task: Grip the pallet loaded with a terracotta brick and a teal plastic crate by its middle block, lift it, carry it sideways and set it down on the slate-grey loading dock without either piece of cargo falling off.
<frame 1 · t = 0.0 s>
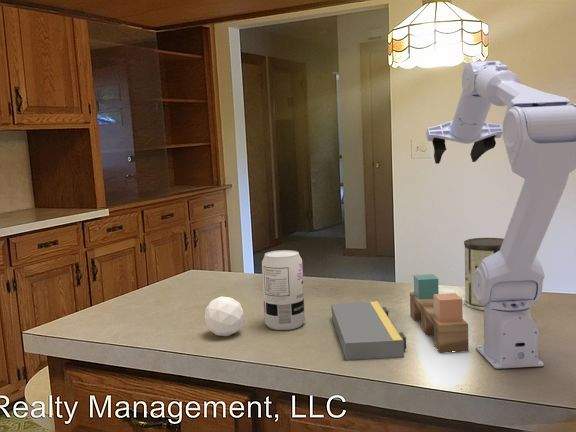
hand: (454, 159, 123), 32 cm above the countertop, tool tilted 50°, fingers open, 7 cm apart
ball: (225, 335, 117), on the countertop
supplement can: (285, 325, 122), on the countertop
dock: (364, 335, 113), on the countertop
teal crate: (426, 296, 120), point 5 cm above the countertop, touching pallet
coffee can: (488, 305, 130), on the countertop
terracotta brick: (447, 318, 105), point 5 cm above the countertop, touching pallet
pallet: (436, 331, 113), on the countertop, touching teal crate, terracotta brick
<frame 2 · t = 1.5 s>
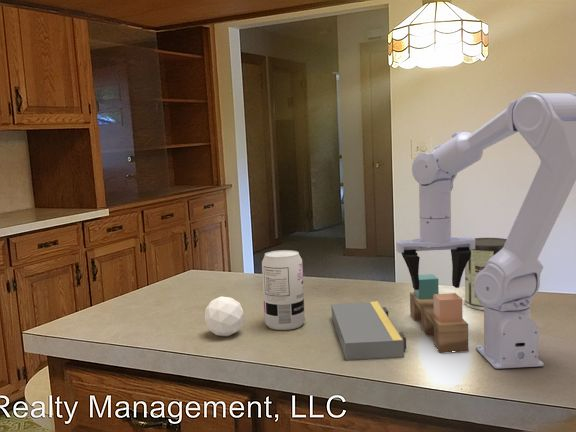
hand: (435, 287, 112), 9 cm above the countertop, tool pointing down, fingers open, 7 cm apart
nothing on the countertop moved.
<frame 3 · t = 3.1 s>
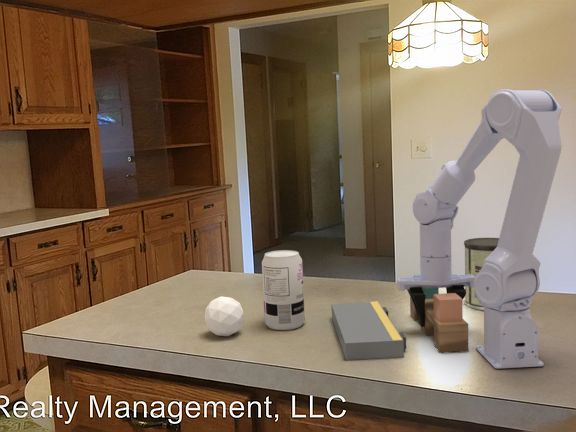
hand: (436, 324, 113), 1 cm above the countertop, tool pointing down, fingers closed on pallet, 5 cm apart
pallet: (436, 331, 113), on the countertop, touching gripper, teal crate, terracotta brick
everything else where it was.
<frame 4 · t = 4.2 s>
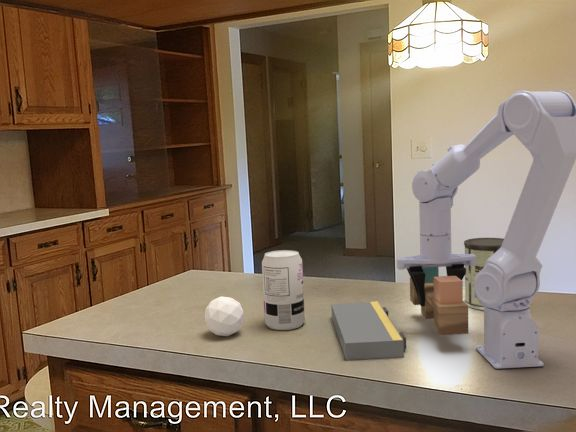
hand: (436, 304, 113), 5 cm above the countertop, tool pointing down, fingers closed on pallet, 5 cm apart
teal crate: (426, 280, 120), point 8 cm above the countertop, touching pallet
terracotta brick: (447, 300, 105), point 8 cm above the countertop, touching pallet
pallet: (436, 315, 113), point 3 cm above the countertop, touching gripper, teal crate, terracotta brick
everything else where it was.
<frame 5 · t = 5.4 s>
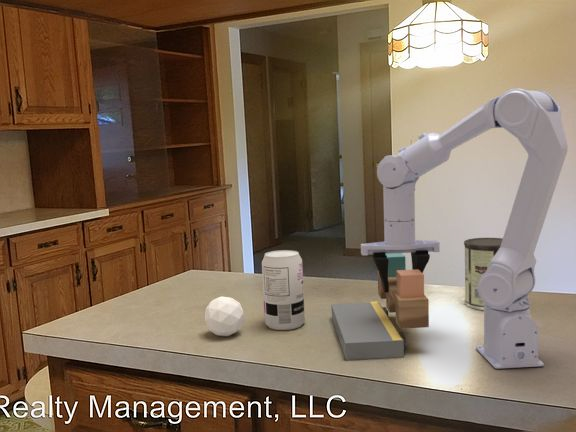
hand: (400, 290, 112), 8 cm above the countertop, tool pointing down, fingers closed on pallet, 5 cm apart
teal crate: (393, 274, 119), point 10 cm above the countertop, touching pallet
terracotta brick: (410, 294, 105), point 10 cm above the countertop, touching pallet
pallet: (401, 309, 113), point 5 cm above the countertop, touching gripper, teal crate, terracotta brick
everything else where it was.
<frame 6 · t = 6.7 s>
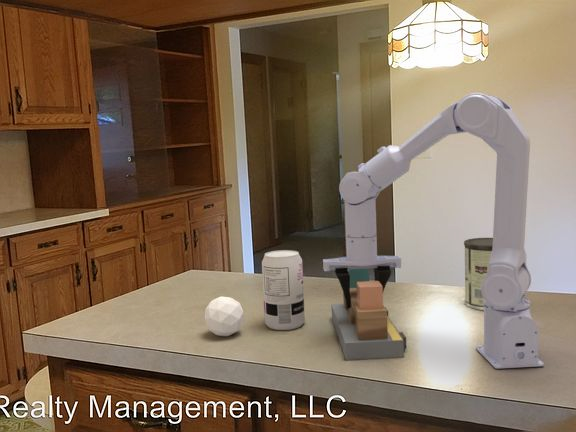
hand: (363, 305, 112), 6 cm above the countertop, tool pointing down, fingers closed on pallet, 5 cm apart
teal crate: (358, 285, 119), point 8 cm above the countertop, touching pallet
terracotta brick: (369, 306, 105), point 8 cm above the countertop, touching pallet
pallet: (363, 320, 113), point 3 cm above the countertop, touching dock, gripper, teal crate, terracotta brick
everything else where it was.
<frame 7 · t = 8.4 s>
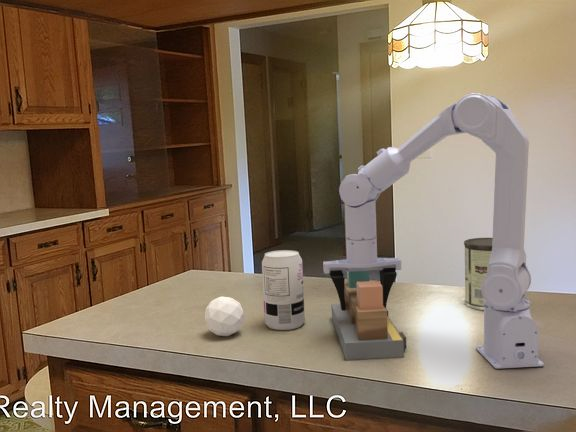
hand: (363, 308, 112), 5 cm above the countertop, tool pointing down, fingers open, 7 cm apart
pallet: (363, 320, 113), point 3 cm above the countertop, touching dock, teal crate, terracotta brick
everything else where it was.
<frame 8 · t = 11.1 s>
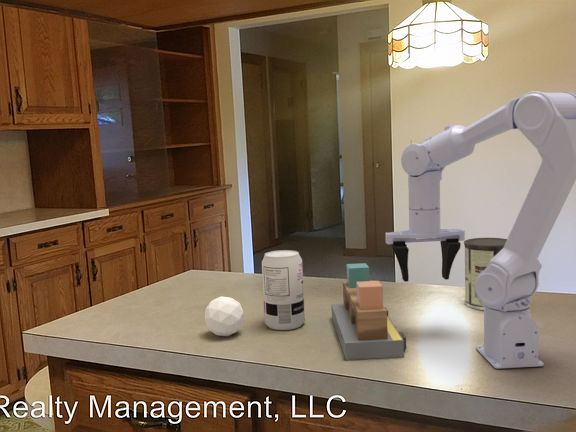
hand: (425, 279, 112), 10 cm above the countertop, tool pointing down, fingers open, 7 cm apart
nothing on the countertop moved.
at the end: pallet 0.0 cm off-centre on the dock, point 3.0 cm above the dock's base; terracotta brick 0.1 cm from the target spot on the pallet, point 5.0 cm above the pallet's base; teal crate 0.2 cm from the target spot on the pallet, point 5.0 cm above the pallet's base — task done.
